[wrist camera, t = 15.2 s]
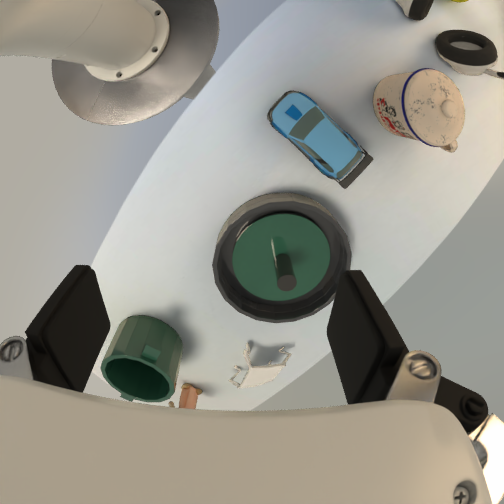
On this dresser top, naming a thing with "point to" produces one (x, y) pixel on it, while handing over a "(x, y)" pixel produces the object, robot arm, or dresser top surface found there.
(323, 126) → the toy car
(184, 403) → the grandmother figurine
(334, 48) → the dresser top surface
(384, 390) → the robot arm
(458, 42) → the headphones
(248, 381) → the origami figure
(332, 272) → the pan
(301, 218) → the lid
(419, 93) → the teacup with lid
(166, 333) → the pot
